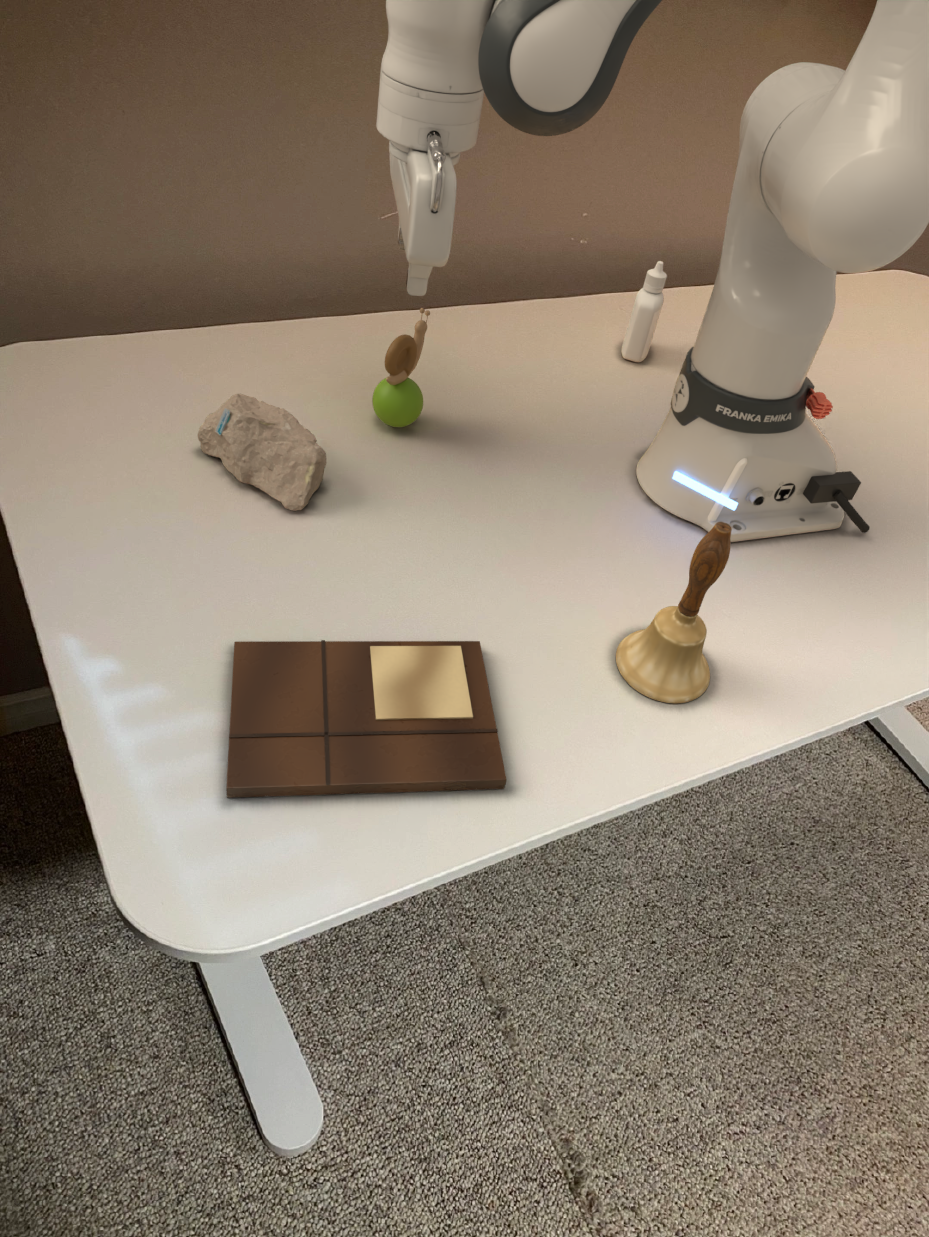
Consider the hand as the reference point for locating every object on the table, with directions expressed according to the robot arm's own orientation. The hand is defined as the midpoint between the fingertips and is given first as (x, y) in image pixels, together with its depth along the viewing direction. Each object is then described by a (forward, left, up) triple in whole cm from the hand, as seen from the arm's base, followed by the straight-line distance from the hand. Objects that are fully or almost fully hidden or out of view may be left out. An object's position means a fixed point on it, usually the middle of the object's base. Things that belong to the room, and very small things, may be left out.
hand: (411, 269), depth 89 cm
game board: (+6, +41, -17) cm, 45 cm away
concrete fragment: (+14, +10, -17) cm, 24 cm away
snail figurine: (0, 0, -17) cm, 17 cm away
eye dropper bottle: (-32, -18, -17) cm, 41 cm away
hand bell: (-20, +36, -17) cm, 45 cm away
